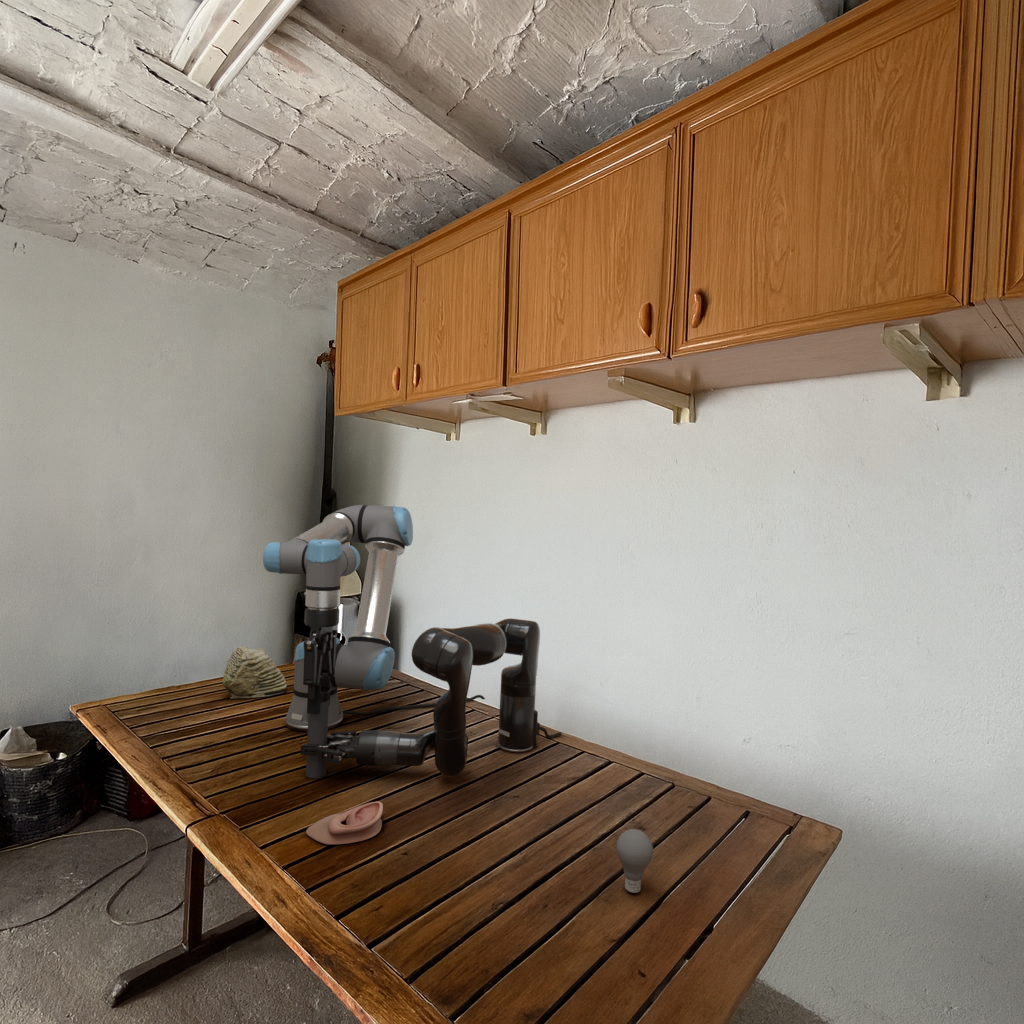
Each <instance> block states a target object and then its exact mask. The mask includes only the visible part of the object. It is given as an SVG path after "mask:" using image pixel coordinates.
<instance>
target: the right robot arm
mask: <svg viewBox="0 0 1024 1024" xmlns="http://www.w3.org/2000/svg"><path fill="white" fill-rule="evenodd" d="M540 645H541V628H540V625H539V623H538V622H537V621H534V620H529V619H528V620H527V619H521V618H504V619H501V620H500V621H497V622H495V623H491V622H490V623H486V622H485V623H479V624H478V623H477V624H474V625H467V626H460V627H455V628H453V627H452V628H450V627H439V626H438V627H437V626H434V627H430V628H428V629H426V630H425V631H423V632H422V633H420V635H418V637H417V638H416V640H415V642H413V646H412V648H411V660H412V663H413V665H414V666H415V667H416V668H417V669H418V670H419V671H421V672H422V673H425V674H427V675H428V676H431V677H433V678H436V679H438V680H440V681H443V682H446V683H447V685H448V689H447V691H445V692H444V693H443V694H442V695H441V696H439V698H438V699H437V700H436V702H435V703H436V704H435V706H433V707H434V708H433V713H432V718H433V727H434V728H433V729H432V730H428V731H424V732H419V733H418V732H417V733H416V732H415V733H413V732H398V731H393V730H392V731H391V730H375V729H374V730H370V729H362V730H360V731H359V734H358V736H357V731H356V730H347V731H345V730H344V731H331V732H330V733H329V734H327V744H323V745H316V744H307V743H303V744H302V745H301V746H300V755H302V756H307V755H316V756H317V757H318V761H323V762H326V763H329V764H334V765H342V764H343V761H344V760H347V759H355V761H356V764H357V765H358V766H370V767H371V766H373V767H393V766H394V767H395V766H401V767H403V766H404V767H420V766H422V765H423V764H424V763H425V760H426V758H427V756H428V754H430V753H431V752H433V751H434V764H435V768H436V769H437V771H438V772H439V773H440V774H442V775H443V776H446V777H452V778H453V777H456V776H459V775H460V774H461V773H462V772H464V770H465V768H466V766H467V759H468V750H469V749H468V748H469V735H468V734H467V714H466V711H467V710H466V708H467V701H466V699H468V693H469V688H470V683H471V676H472V670H473V666H477V667H478V666H485V665H489V664H492V663H495V662H497V661H498V660H500V659H501V658H502V657H503V656H504V654H506V655H513V656H520V657H521V662H519V663H516V664H513V665H508V666H506V667H503V668H502V669H501V673H500V693H499V717H498V737H497V748H499V749H500V750H502V751H504V752H509V753H526V752H529V751H531V750H533V749H536V748H537V738H538V736H540V731H541V732H543V733H544V736H545V737H546V738H547V739H554V738H557V737H559V736H562V732H561V731H558V732H556V733H554V734H549V733H548V730H547V729H546V728H545V727H543V726H540V725H541V723H540V722H538V719H539V718H538V716H539V711H538V710H536V695H537V694H536V693H537V675H538V674H537V673H538V666H539V655H540V654H539V653H540ZM326 748H327V749H326Z"/></svg>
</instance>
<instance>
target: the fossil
mask: <svg viewBox="0 0 1024 1024" xmlns="http://www.w3.org/2000/svg"><path fill="white" fill-rule="evenodd" d="M222 676H223V677H222V685H223V687H224V688H225V690H226V691H228V693H229V698H230V699H250V698H264V697H271V696H275V695H281V694H284V693H285V691H286V689H287V687H288V686H287V680H286V678H285V676H284V674H283V673H282V672H281V669H279V668H278V667H277V665H276V663H275V662H274V660H273V659H272V658H271V657H270V656H269V655H268V654H267V653H266V652H265V650H264V649H263V648H260V647H258V648H251V647H247V646H246V647H245V646H238V647H237V648H236V649H235V650H233V651H232V653H231V656H230V657H229V659H228V660H227V663H226V666H225V668H224V671H223V675H222Z"/></svg>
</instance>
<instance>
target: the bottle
mask: <svg viewBox="0 0 1024 1024" xmlns="http://www.w3.org/2000/svg"><path fill="white" fill-rule="evenodd" d="M328 708H329V699H328V700H326V701H321V702H320V714H308V732H307V736H306V738H307V739H306V744H316V745H323V744H327V735H329V734H328V732H329V730H328ZM326 749H328V748H326ZM326 775H327V762H323V761H318V757H317V756H316V755H306V763H305V777H307V778H309V779H319V778H323V777H325V776H326Z"/></svg>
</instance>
